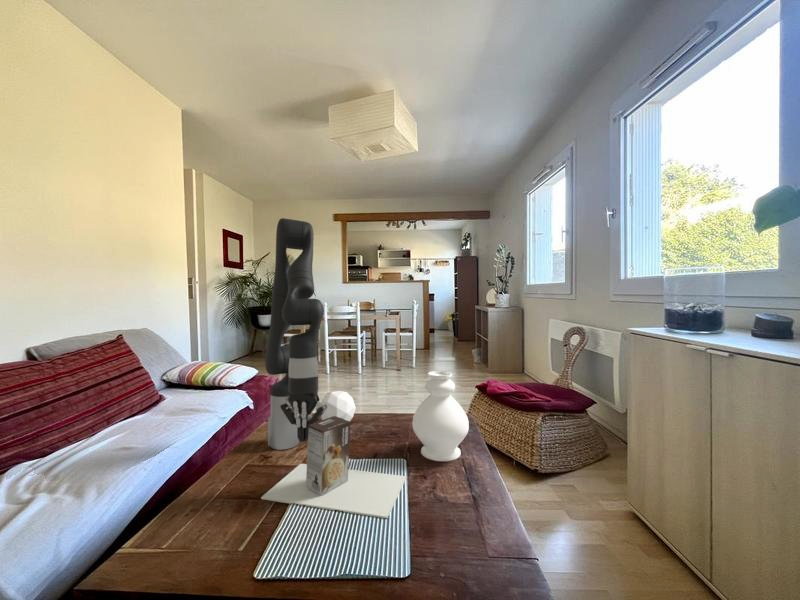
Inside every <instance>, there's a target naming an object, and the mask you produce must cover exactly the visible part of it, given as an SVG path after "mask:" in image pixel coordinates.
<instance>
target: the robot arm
mask: <svg viewBox="0 0 800 600" xmlns="http://www.w3.org/2000/svg"><path fill="white" fill-rule="evenodd" d="M275 232H276V235H275V267H274V268H275V269H274V277H273V278H274V279H273V286H272V295H271V307H270V308H271V309H270V324H269V332H268V338H267V339H268V340H267V344H266V345H267V346H266V348H265V349H266V350H265V355H264V356H265V359H264V364H265V367H264V368H265V370H266V373H268V375H270V376H273V375H274V376H275V375H276V376H277V375H283V374H284V376H283V378H281V379H280V380H278V381H277V382H275V383H274V384H272V385H271V386H270V390H269V392H270V416H269V417H267V447H270V448H272V449H273V450H278V451H279V450H280V451H281V450H283V451H284V450H288V449H292V448H295V447H297V446H298V445H299V443H300V442H302V443H305V442H308V425H310V424H313V423H316V422H318V421H320V418H321V415H322V414H323V413H324V411H325V410H326V409H327V406H326V405H323V404H322V403H321V401H320V397H319V395H318V394H319V393H318V392H319V362H318V338H319V337H318V336H319V331H320V328H321V324H322V321H323V317H324V312H325V308H324V304H323V303H322V301H321V300H320V299H318V298H312V297H313V295H314V294H315V283H314V276H313V275H314V274H313V261H314V260H313V259H314V234H315V233H314V228H313V226H312V224H311V223H310V222H308V221H303V220H297V219H292V218H284V217H283V218H280V219H278V222H277V225H276V231H275ZM287 249H290V250H296V251H297V250H299V251H301V252H300V254H299V255H298V257H296V259H295V260H294V261H293V262H292V263H291V264H290V262H289V258H288V254H287ZM291 326H309V327H308V329H307V331H305V332H301V333H297V334H294V335H292V336H291V337H289V345H282V343H283V339H284V337H285V334H286V332H287V330H288V329H289V328H290V327H291ZM314 411H315V412H314Z"/></svg>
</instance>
